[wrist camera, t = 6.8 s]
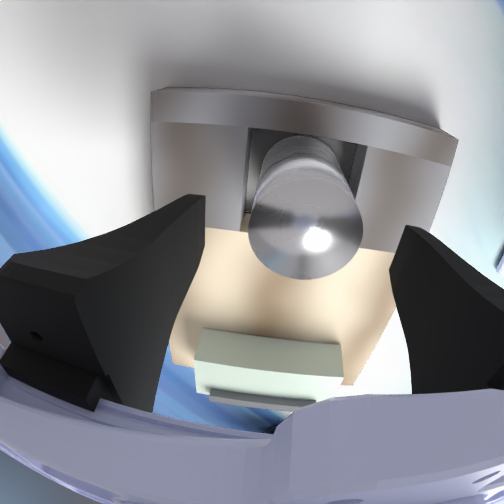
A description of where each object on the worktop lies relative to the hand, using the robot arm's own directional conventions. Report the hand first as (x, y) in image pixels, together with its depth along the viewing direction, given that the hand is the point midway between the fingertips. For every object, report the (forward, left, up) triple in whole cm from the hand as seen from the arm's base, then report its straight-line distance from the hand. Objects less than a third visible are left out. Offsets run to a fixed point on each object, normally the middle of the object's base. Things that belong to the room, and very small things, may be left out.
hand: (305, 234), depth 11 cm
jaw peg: (0, 0, -6) cm, 6 cm away
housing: (0, +6, -6) cm, 8 cm away
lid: (0, +12, -4) cm, 13 cm away
